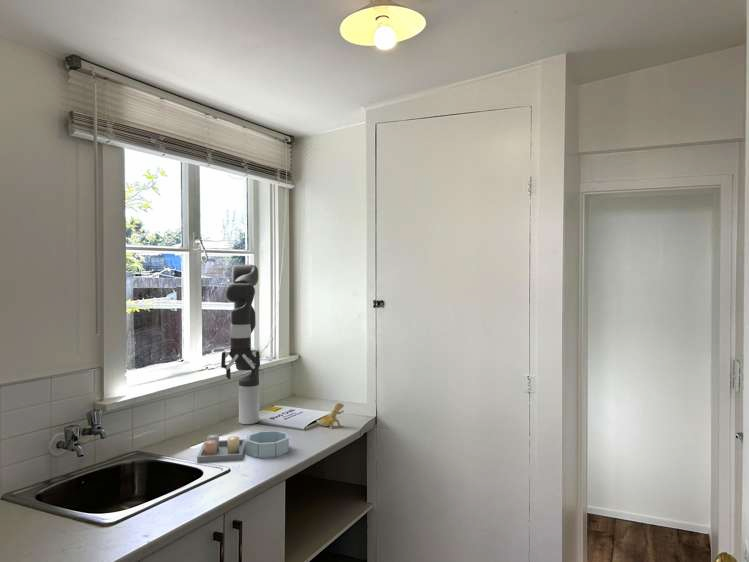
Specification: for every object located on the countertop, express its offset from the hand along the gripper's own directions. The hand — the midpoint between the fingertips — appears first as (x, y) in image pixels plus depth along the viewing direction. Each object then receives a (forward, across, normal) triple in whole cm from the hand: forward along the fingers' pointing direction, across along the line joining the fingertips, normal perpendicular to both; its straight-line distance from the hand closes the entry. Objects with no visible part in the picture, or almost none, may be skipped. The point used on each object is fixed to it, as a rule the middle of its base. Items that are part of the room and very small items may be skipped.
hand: (240, 378), depth 201 cm
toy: (+30, -36, -31) cm, 56 cm away
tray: (+29, +7, -3) cm, 30 cm away
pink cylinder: (+29, +11, -6) cm, 32 cm away
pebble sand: (+29, +3, -3) cm, 29 cm away
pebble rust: (+29, +11, 0) cm, 31 cm away
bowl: (+29, -10, -3) cm, 31 cm away
